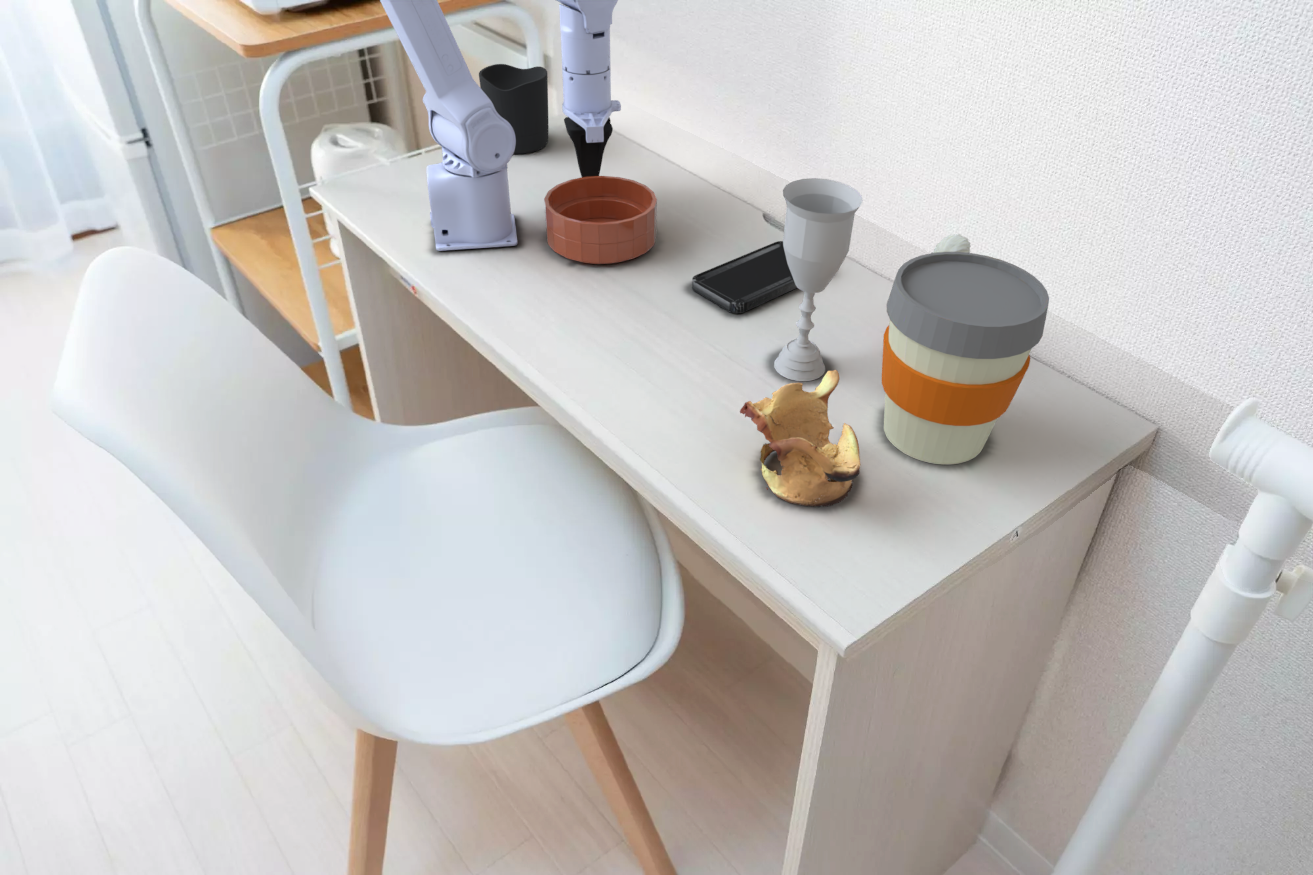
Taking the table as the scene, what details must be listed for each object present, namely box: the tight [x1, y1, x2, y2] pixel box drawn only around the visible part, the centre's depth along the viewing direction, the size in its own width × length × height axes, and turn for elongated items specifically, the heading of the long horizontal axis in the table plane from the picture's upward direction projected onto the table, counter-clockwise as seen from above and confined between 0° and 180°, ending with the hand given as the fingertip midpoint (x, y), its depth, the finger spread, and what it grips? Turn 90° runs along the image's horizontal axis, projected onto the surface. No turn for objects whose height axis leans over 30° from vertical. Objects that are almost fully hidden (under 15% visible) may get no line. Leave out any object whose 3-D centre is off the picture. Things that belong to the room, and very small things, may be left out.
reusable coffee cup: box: [881, 252, 1050, 465], centre depth 80 cm, size 13×13×15 cm
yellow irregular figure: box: [739, 369, 861, 508], centre depth 77 cm, size 12×10×8 cm
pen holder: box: [478, 63, 549, 155], centre depth 133 cm, size 9×9×10 cm
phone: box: [691, 240, 798, 314], centre depth 105 cm, size 8×1×15 cm
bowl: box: [543, 175, 658, 265], centre depth 111 cm, size 13×13×6 cm
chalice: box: [773, 177, 864, 382], centre depth 87 cm, size 7×7×18 cm
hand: (589, 176), depth 119 cm, fingers closed
